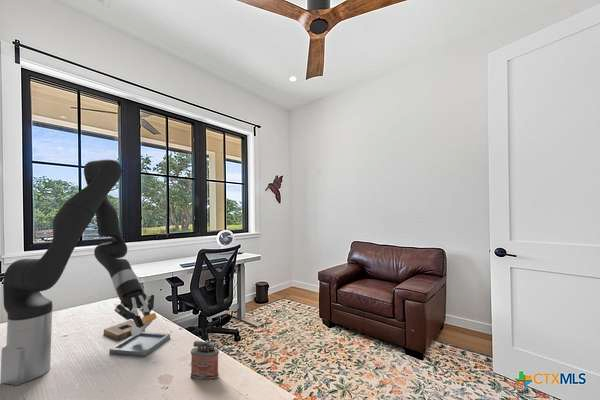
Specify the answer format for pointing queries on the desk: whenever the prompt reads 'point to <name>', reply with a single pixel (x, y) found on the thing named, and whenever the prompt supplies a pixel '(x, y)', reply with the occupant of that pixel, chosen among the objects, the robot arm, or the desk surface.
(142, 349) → the tray
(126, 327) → the socket plate
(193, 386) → the desk surface
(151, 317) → the key
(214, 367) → the lighter
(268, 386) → the desk surface
